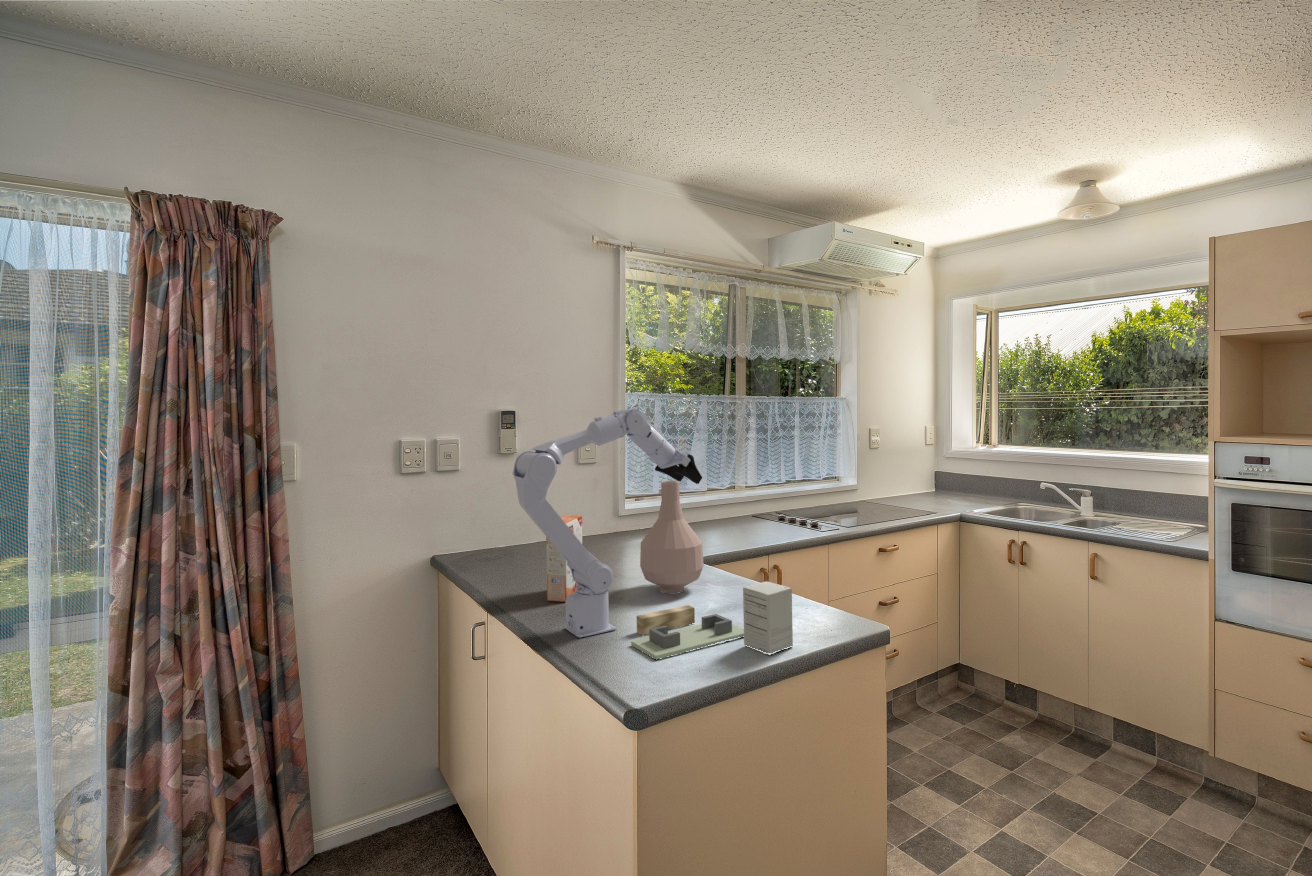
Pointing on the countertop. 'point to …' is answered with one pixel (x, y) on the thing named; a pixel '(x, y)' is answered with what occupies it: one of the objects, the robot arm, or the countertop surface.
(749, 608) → the supplement box
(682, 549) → the vase
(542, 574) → the countertop surface
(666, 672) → the countertop surface
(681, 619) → the slat
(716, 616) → the board
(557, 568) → the cracker box
